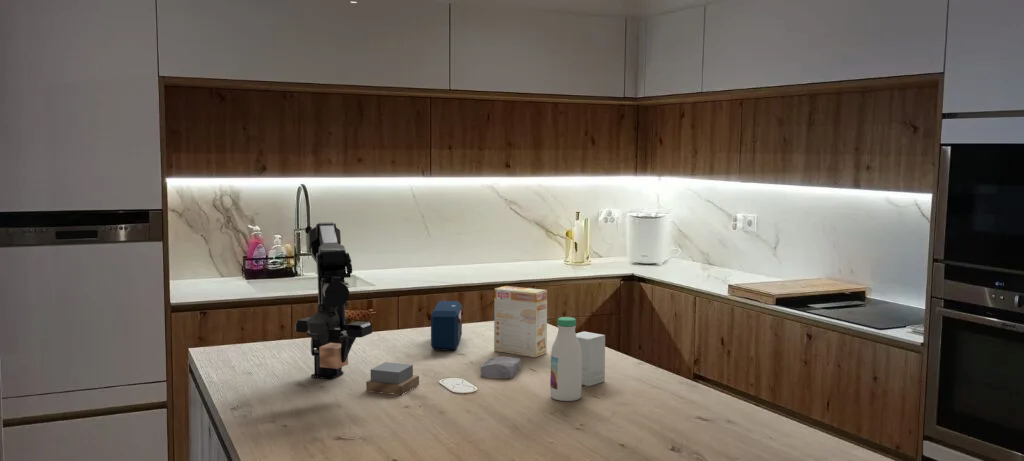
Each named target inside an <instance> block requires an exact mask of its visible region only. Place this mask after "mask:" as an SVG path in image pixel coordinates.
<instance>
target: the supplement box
mask: <svg viewBox="0 0 1024 461" xmlns="http://www.w3.org/2000/svg"><path fill="white" fill-rule="evenodd" d="M575 333H576V332H575ZM576 337H577V339H578V341H579V344H580V347H581V353H582V383H581V386H582V385H583V386H587V387H591V386H595V385H598V384H600V383H603V382H605V380H606V369H605V368H606V335H605V334H601V333H594V332H589V331H585V330H584V331H580V332H577V333H576Z"/></svg>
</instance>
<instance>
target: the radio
mask: <svg viewBox="0 0 1024 461" xmlns="http://www.w3.org/2000/svg"><path fill="white" fill-rule="evenodd" d="M463 316H464V310H463V305H462V304H461V302H460V301H459V300H456V301H455V300H438V302H437V304H436V305H435V306H434V309H433V310H432V312H431V313H430V346H431V348H432V349H433V351H456V349H457V348H458V347H459V344H460V340H461V339H462V334H463V328H462V327H463V324H462V323H463V321H462V320H463Z"/></svg>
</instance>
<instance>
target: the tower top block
mask: <svg viewBox="0 0 1024 461" xmlns="http://www.w3.org/2000/svg"><path fill="white" fill-rule="evenodd" d="M413 375H414V364H408V363H396V362H388V361H387V362H386V361H385V362H383V363H380V364H379V365H377V366H374V367H373V368H371V369H370V380H371V381H375V382H384V383H393V384H400V383H402V382H404V381H405V380H407V379H409V378H410V377H412V376H413Z"/></svg>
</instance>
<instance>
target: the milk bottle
mask: <svg viewBox="0 0 1024 461" xmlns="http://www.w3.org/2000/svg"><path fill="white" fill-rule="evenodd" d="M556 324H557V328H558V330H557V334H556V336H555V339H554V341H553V344H552V346H551V351H550V379H549V380H550V381H549V382H550V386H549V388H550V390H549V391H550V394H549V395H550V398H551V399H553V400H556V401H562V402H574V401H577V400H580V399H581V397H582V384H581V383H582V353H581V347H580V344H579V341H578V339H577V337H576V327H577V319H576V318H575V317H572V316H571V317H570V316H561V317H559V318H557V322H556Z"/></svg>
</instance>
